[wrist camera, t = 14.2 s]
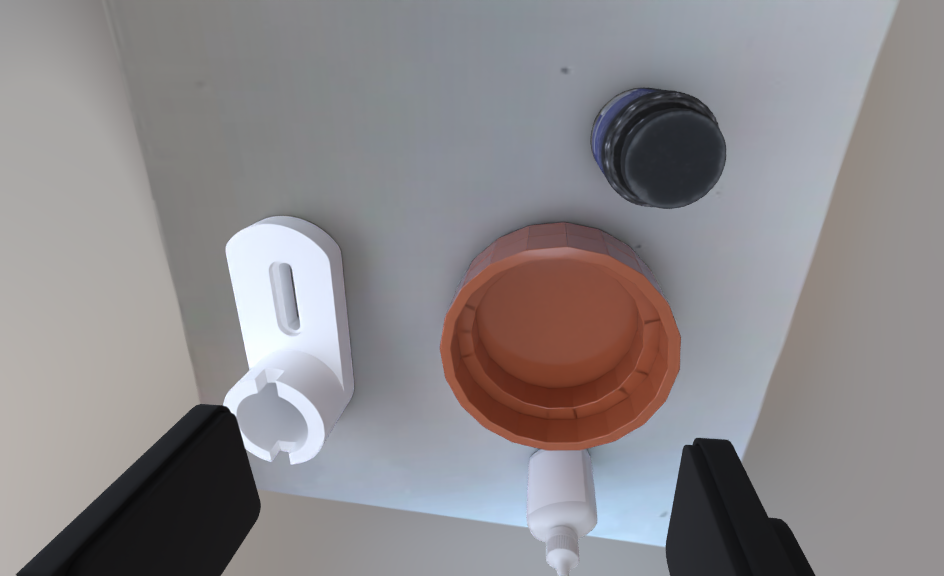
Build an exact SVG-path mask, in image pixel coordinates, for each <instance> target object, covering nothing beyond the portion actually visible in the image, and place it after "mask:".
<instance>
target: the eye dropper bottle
mask: <svg viewBox="0 0 944 576" xmlns="http://www.w3.org/2000/svg"><path fill="white" fill-rule="evenodd" d="M526 518H527V525H528V527H529V529H530V531H531V533H532V534H533V536H534V537H535V538H536V539H538V540H540V541H543V542H546V560H547V562H548V564H549V565H550V566H551V567H553V568H554V569H556V570H557V574H558V576H569V571H570V570H572V569H574V568H575V567H577V566H578V564H579V547H578V540H579V539H580V538H582V537H584V536H585V535H587V534H588V533H589V532H590V531H592V530H593V529H594V527H595V526H596V524H597V509H596V499H595V489H594V480H593V471H592V462H591V457H590V455H589V453H588V451H587V449H583V450H568V451H547V450H543V449H540V450H539V451H537V452H536V453H534V454H533V455H532V456H531V457H530V459H529V467H528V487H527V515H526Z"/></svg>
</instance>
